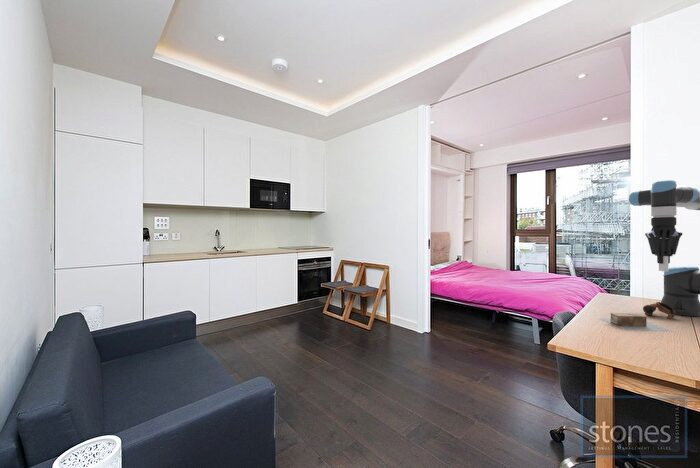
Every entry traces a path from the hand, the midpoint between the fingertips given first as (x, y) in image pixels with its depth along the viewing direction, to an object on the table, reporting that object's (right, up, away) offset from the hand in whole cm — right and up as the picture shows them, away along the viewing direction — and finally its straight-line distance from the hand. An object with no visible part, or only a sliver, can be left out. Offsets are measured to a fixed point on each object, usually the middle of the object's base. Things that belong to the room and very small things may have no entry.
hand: (663, 271), depth 128 cm
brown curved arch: (+11, -24, +14) cm, 30 cm away
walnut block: (-8, -22, +1) cm, 23 cm away
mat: (-11, -25, +2) cm, 27 cm away
